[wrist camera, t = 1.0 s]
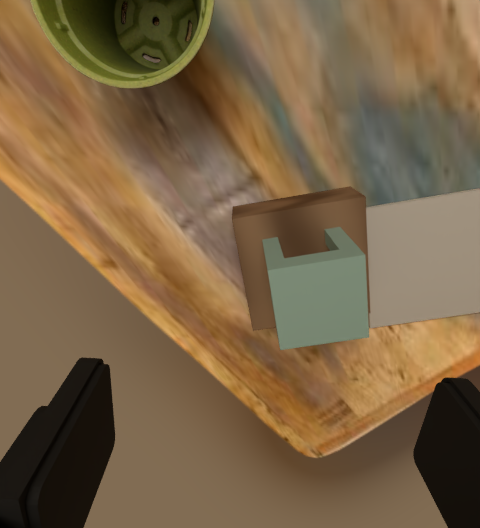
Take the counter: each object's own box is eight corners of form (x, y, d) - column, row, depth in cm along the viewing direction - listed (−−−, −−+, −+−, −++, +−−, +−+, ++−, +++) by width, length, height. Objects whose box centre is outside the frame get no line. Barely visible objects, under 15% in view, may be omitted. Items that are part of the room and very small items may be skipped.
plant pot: (209, 109, 28) (197, 106, 20) (87, 80, 27) (23, 65, 19) (234, -37, 25) (232, -111, 17) (95, -75, 24) (22, -171, 16)
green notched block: (340, 226, 28) (365, 254, 22) (345, 295, 30) (369, 337, 24) (262, 239, 28) (267, 270, 22) (272, 307, 30) (280, 350, 25)
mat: (507, 183, 30) (510, 184, 30) (494, 307, 35) (497, 309, 34) (363, 207, 31) (364, 208, 31) (368, 326, 36) (369, 328, 35)
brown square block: (350, 186, 30) (365, 196, 27) (356, 291, 34) (370, 313, 30) (233, 206, 31) (232, 219, 27) (251, 307, 35) (252, 330, 31)
